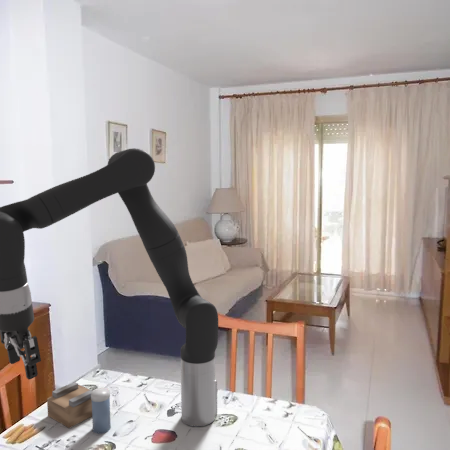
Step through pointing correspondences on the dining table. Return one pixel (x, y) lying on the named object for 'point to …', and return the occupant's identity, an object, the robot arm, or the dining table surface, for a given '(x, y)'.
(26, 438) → the dining table surface
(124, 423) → the dining table surface
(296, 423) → the dining table surface
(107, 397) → the ball-topped blue cylinder
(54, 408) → the display plinth
